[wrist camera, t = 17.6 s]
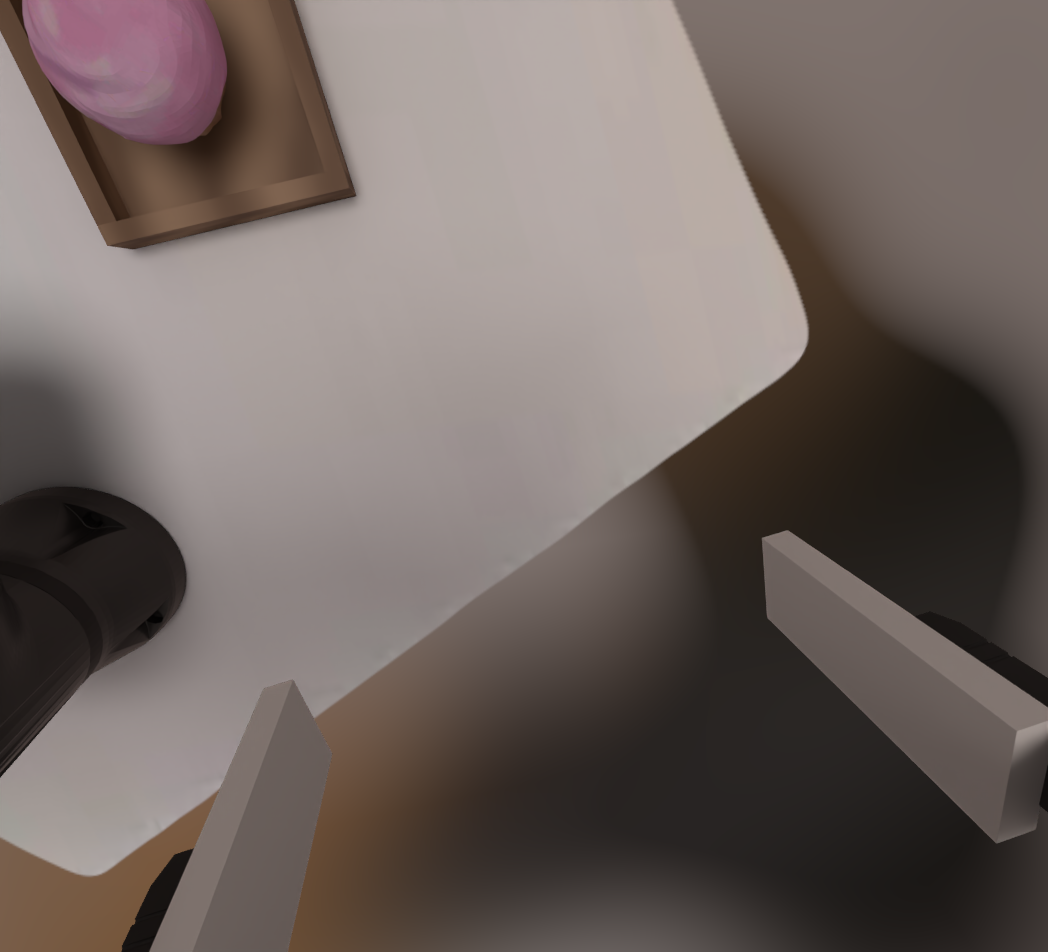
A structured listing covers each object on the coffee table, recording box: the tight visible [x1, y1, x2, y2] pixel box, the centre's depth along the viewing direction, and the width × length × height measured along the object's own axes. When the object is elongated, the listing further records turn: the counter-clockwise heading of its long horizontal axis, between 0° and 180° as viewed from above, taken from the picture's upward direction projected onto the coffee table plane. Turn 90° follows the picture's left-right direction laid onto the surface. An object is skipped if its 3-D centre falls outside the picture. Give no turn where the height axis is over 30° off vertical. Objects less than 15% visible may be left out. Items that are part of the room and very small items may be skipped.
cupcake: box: [22, 0, 227, 145], centre depth 28 cm, size 9×9×10 cm
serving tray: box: [0, 0, 356, 249], centre depth 32 cm, size 16×16×3 cm
